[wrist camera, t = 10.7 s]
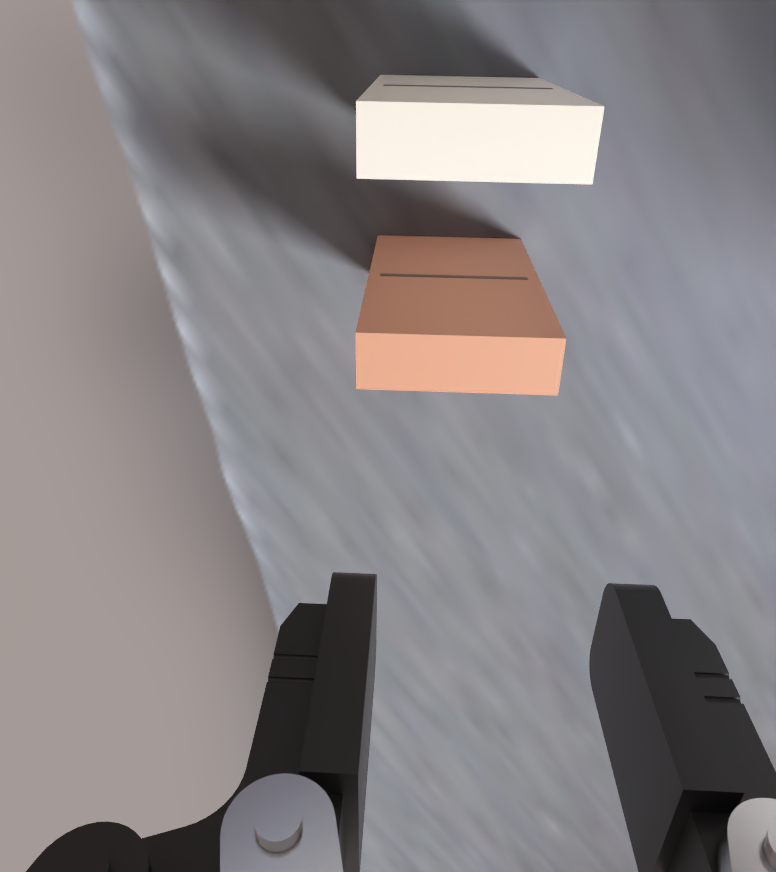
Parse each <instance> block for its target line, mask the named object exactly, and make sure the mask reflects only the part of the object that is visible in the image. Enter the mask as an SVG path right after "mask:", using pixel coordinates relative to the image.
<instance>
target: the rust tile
mask: <svg viewBox="0 0 776 872" xmlns="http://www.w3.org/2000/svg"><path fill="white" fill-rule="evenodd" d="M565 345H566V337H565V335H564V332H563V330H562V328H561V326H560V324H559V322H558V319H557V317H556V315H555V313H554V311H553V308H552V306H551V304H550V302H549V300H548V297H547V295H546V293H545V291H544V289H543V287H542V284H541V282H540V280H539V278H538V276H537V273H536V271H535V269H534V267H533V265H532V263H531V260H530V258H529V256H528V254H527V252H526V249H525V247H524V245H523V243H522V241H521V239H512V238H471V237H430V236H388V235H378V237H377V241H376V245H375V250H374V254H373V259H372V263H371V267H370V272H369V276H368V281H367V285H366V289H365V294H364V298H363V302H362V307H361V311H360V316H359V320H358V324H357V329H356V389H371V390H403V391H435V392H467V393H499V394H530V395H558V391H559V384H560V378H561V371H562V365H563V358H564V351H565Z"/></svg>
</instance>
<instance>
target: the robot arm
mask: <svg viewBox="0 0 776 872" xmlns="http://www.w3.org/2000/svg"><path fill="white" fill-rule="evenodd" d="M376 614H377V574H360V573H336V572H333V574H332V578H331V584H330V589H329V595H328V601H327V604H307V603H299V604H298V605H297V606H296V607H295V609H294V610H293V611H292V612H291V614H290V615H289V616H288V617H287V619H286V620H285V621H284V622H283V624H282V625H281V626H280V630H279V634H278V638H277V643H276V647H275V651H274V658H273V660H272V664H271V668H270V672H269V676H268V682H267V685H266V688H265V693H264V697H263V701H262V705H261V709H260V713H259V718H258V722H257V726H256V730H255V734H254V738H253V743H252V747H251V751H250V755H249V759H248V763H247V768H246V771H245V774H244V777H243V779H242V781H241V783H240V785H239V787H238V788H237V790H236V791H235V793H234V794H233V795H232V797H231V798H230V799H229V800H228V801H227V802H226V803H225V804H224V805H223V806H222V807H220V808H219V809H218V810H217V811H216V812H214V813H213V814H211V815H210V816H208V817H207V818H205V819H203V820H201V821H199V822H197V823H194V824H191V825H188V826H186V827H182V828H178V829H175V830H171V831H168V832H164V833H160V834H157V835H153V836H149V837H146V838H142V839H141V838H140V837H139V836H138V835H137V833H136V832H134V831H133V830H132V829H130V828H129V827H127V826H125V825H122V824H119V823H114V822H96V823H91V824H87V825H84V826H81V827H78V828H76V829H74V830H72V831H70V832H68V833H66V834H65V835H63V836H61V837H60V838H58V839H57V840H55V841H54V842H53V843H52V844H51V845H49V846H48V847H47V848H46V849H45V850H44V851H43V852H42V854H41V855H40V856H39V857H38V858H37V859H36V860H35V862H34V863H33V864H32V865H31V866H30V867H29V869H28V870H27V871H26V872H360V862H361V849H362V836H363V823H364V810H365V797H366V783H367V770H368V757H369V744H370V731H371V718H372V705H373V692H374V678H375V661H376ZM590 680H591V686H592V691H593V695H594V699H595V703H596V707H597V710H598V714H599V718H600V722H601V726H602V730H603V734H604V738H605V742H606V746H607V750H608V754H609V758H610V762H611V766H612V769H613V773H614V777H615V781H616V785H617V789H618V793H619V797H620V801H621V805H622V809H623V813H624V817H625V821H626V825H627V828H628V832H629V836H630V840H631V844H632V848H633V852H634V856H635V860H636V864H637V868H638V872H776V772H775V770H774V768H773V765H772V763H771V761H770V759H769V757H768V755H767V753H766V751H765V749H764V746H763V744H762V742H761V740H760V738H759V736H758V734H757V732H756V729H755V727H754V725H753V723H752V721H751V719H750V717H749V715H748V713H747V710H746V708H745V706H744V704H741V702H740V696H739V693H738V691H737V689H736V687H735V685H734V683H733V681H732V679H729V672H728V670H727V668H726V666H725V664H724V662H723V660H722V658H721V655H720V653H719V651H718V649H717V647H716V645H715V644H714V643H713V642H712V641H711V640H710V639H709V638H708V637H707V636H706V635H705V634H704V633H703V632H702V631H701V630H700V629H699V628H698V627H697V626H696V625H695V623H694V622H693V621H692V620H690V619H672V618H671V616H670V614H669V611H668V609H667V607H666V604H665V602H664V599H663V597H662V595H661V592H660V590H659V589H658V588H657V587H656V586H654V585H636V584H612V583H609V584H607V585H606V587H605V589H604V592H603V597H602V601H601V605H600V610H599V614H598V619H597V623H596V627H595V632H594V636H593V641H592V645H591V650H590Z"/></svg>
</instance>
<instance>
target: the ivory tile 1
mask: <svg viewBox="0 0 776 872" xmlns="http://www.w3.org/2000/svg"><path fill="white" fill-rule="evenodd" d="M604 107H605V106H603V105H600V104H598V103H596V102H593V101H591V100H589V99H586V98H584V97H582V96H580V95H577V94H575V93H573V92H570V91H568V90H566V89H564V88H561V87H559V86H557V85H554V84H552V83H550V82H548V81H545V80H543V79H541V78H515V77H466V76H417V75H380V76H379V77H378V78H377V79H376V80H375V81H374V82H373V83H372V84H371V85H370V87H369V88H368V89H367V90H366V91H365V92H364V93H363V94H362V95H361V96H360V97H359V98H358V99H357V101H356V173H357V179H393V180H433V181H473V182H513V183H554V184H593V177H594V171H595V164H596V158H597V152H598V145H599V139H600V132H601V126H602V120H603V113H604Z"/></svg>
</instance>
